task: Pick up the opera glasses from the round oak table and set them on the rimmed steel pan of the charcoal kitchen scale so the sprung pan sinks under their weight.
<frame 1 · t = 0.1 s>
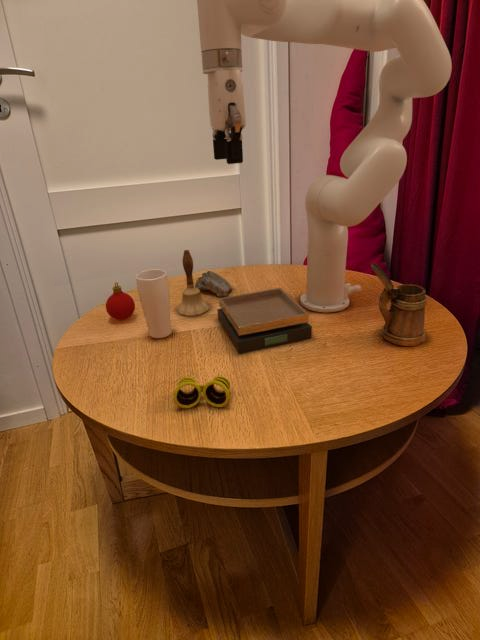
hand: (228, 161, 84), 37 cm above the table, tool pointing down, fingers open, 9 cm apart
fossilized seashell: (213, 291, 118), on the table
opera glasses: (204, 401, 73), on the table
christmas ornament: (123, 319, 104), on the table
wooden mug: (393, 338, 89), on the table
scale: (262, 328, 96), on the table
scale pan: (261, 309, 94), point 5 cm above the table, slide at 0.0 cm
hand bell: (193, 310, 107), on the table
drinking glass: (160, 334, 96), on the table
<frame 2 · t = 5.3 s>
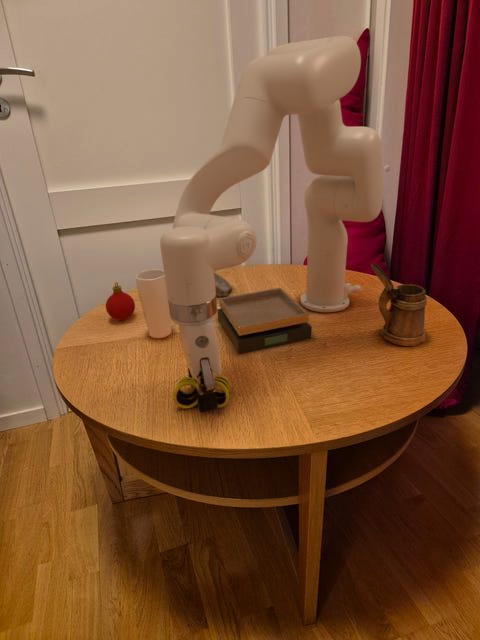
hand: (203, 396, 73), 1 cm above the table, tool pointing down, fingers closed on opera glasses, 6 cm apart
opera glasses: (203, 401, 73), on the table, touching gripper
everything else where it was.
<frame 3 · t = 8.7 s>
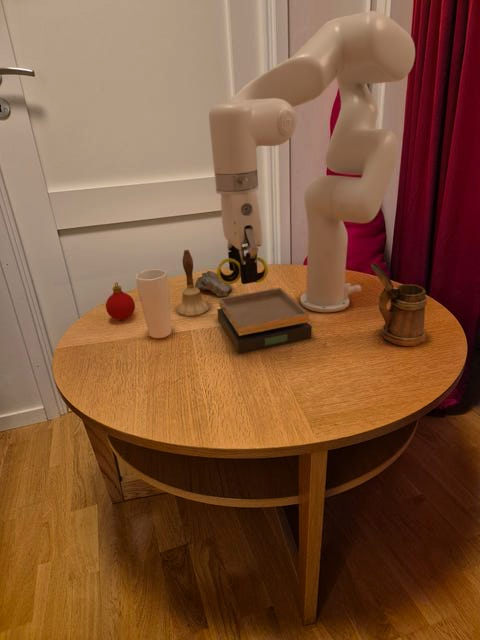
hand: (243, 275, 80), 17 cm above the table, tool pointing down, fingers closed on opera glasses, 6 cm apart
opera glasses: (243, 280, 81), point 16 cm above the table, touching gripper
everything else where it was.
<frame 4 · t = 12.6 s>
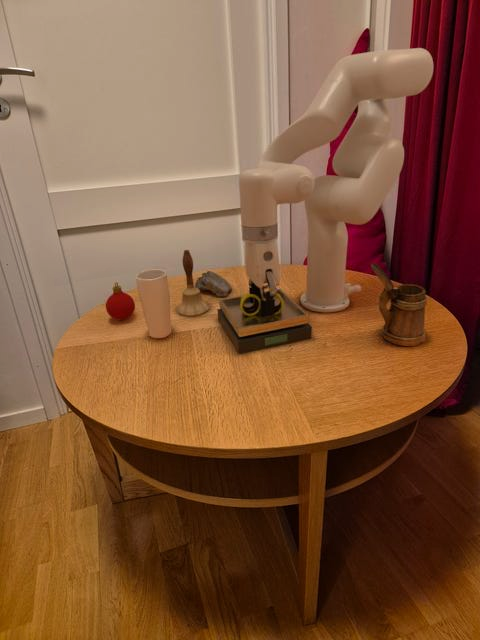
hand: (261, 307, 93), 5 cm above the table, tool pointing down, fingers closed on opera glasses, 6 cm apart
opera glasses: (261, 312, 94), point 4 cm above the table, touching gripper
scale pan: (261, 310, 94), point 5 cm above the table, slide at -0.3 cm
everything else where it was.
when the fingers open (5 cm above the table, at t = 12.6 s): opera glasses stays where it is, resting on scale pan.
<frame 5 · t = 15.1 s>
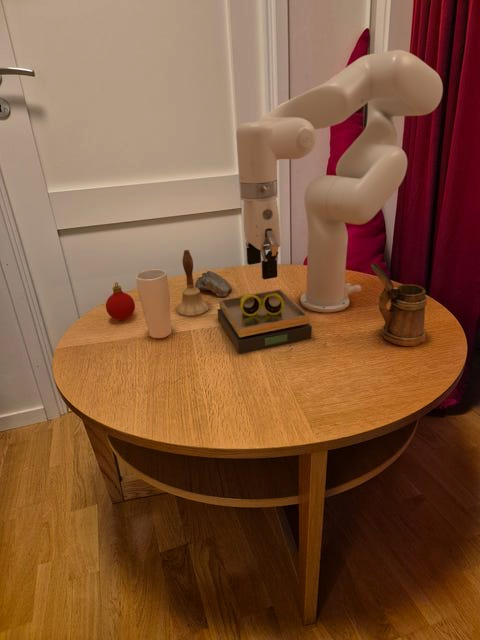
hand: (261, 270, 89), 14 cm above the table, tool pointing down, fingers open, 9 cm apart
opera glasses: (261, 312, 94), point 4 cm above the table, touching scale pan
scale pan: (261, 311, 94), point 5 cm above the table, slide at -0.4 cm, touching opera glasses, scale
everything else where it was.
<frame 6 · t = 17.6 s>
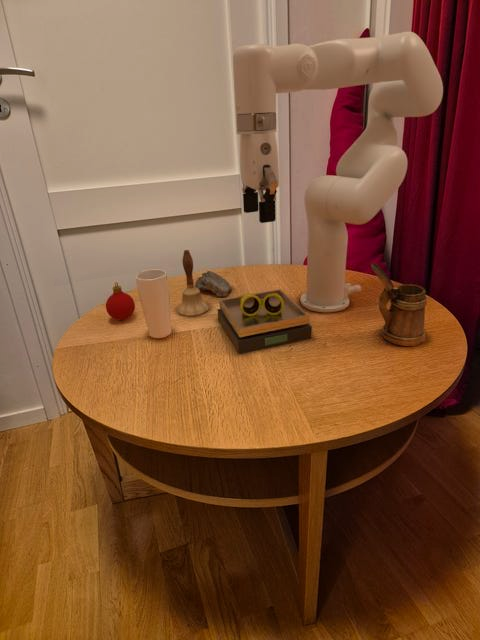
hand: (258, 216, 84), 26 cm above the table, tool pointing down, fingers open, 9 cm apart
nothing on the table moved.
at the end: opera glasses inside the target area on the scale (0.1 cm from its centre), point 4.2 cm above the scale's base; opera glasses touching scale pan; scale pan slide at -0.4 cm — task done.
